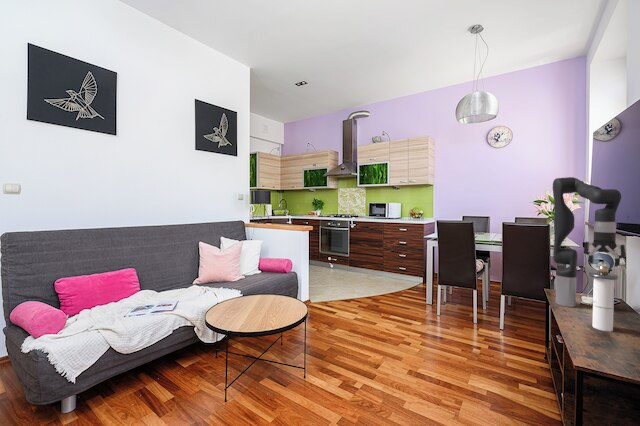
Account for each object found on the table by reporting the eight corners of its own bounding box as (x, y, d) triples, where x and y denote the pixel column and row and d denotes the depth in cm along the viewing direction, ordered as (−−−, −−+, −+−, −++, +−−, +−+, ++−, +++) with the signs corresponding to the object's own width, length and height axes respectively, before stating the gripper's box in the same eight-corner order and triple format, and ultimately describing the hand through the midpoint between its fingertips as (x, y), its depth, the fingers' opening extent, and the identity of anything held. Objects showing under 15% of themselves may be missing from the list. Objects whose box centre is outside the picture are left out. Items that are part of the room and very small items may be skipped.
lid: (584, 273, 147) (584, 263, 146) (609, 275, 144) (609, 264, 144) (597, 278, 137) (597, 267, 137) (623, 280, 134) (624, 269, 134)
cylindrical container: (606, 325, 144) (607, 275, 143) (616, 332, 137) (618, 279, 136) (589, 324, 146) (590, 274, 145) (598, 330, 139) (599, 278, 138)
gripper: (582, 230, 143) (582, 263, 144) (624, 232, 132) (623, 268, 132) (587, 229, 148) (586, 261, 148) (627, 231, 136) (626, 266, 137)
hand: (603, 264), depth 140 cm, fingers open, 8 cm apart
